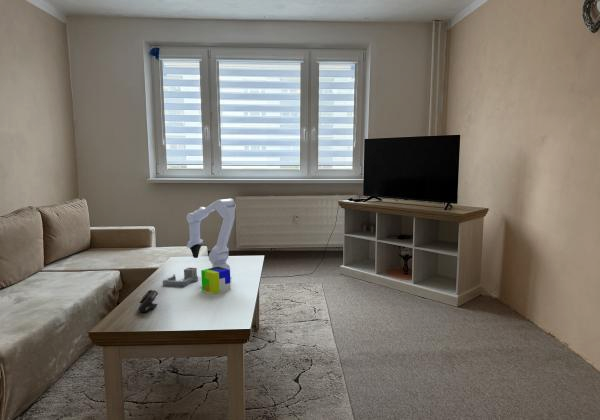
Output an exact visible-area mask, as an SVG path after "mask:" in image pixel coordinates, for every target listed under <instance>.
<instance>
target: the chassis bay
mask: <svg viewBox="0 0 600 420" xmlns="http://www.w3.org/2000/svg"><path fill="white" fill-rule="evenodd" d="M198 281H199V276H198V275H197V276H193V277H190V278H188V279H184V280H183V279H182V280H176V274H172V276H170V277H167V278H165V279H163V280H162V286H164V287H175V288H176V287H177V288H185V287H187V286H188V285H191V284H192V283H194V282H198Z"/></svg>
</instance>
